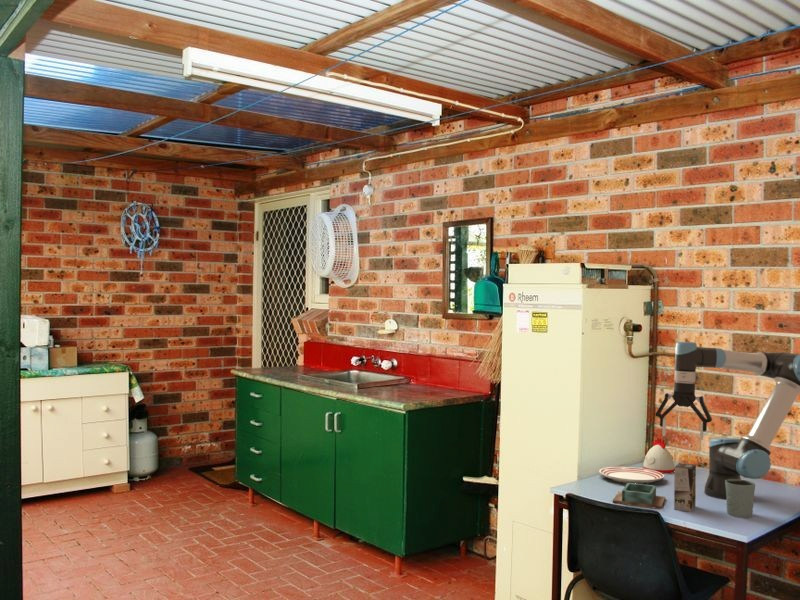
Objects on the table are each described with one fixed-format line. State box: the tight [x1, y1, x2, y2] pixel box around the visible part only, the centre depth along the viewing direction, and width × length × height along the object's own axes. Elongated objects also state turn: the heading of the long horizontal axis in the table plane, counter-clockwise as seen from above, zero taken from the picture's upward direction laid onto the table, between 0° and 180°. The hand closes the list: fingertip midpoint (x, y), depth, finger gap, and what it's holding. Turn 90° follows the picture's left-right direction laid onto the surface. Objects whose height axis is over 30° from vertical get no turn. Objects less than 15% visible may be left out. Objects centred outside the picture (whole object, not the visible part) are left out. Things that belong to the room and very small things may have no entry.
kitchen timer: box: [642, 437, 676, 474], centre depth 344 cm, size 14×14×15 cm
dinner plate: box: [598, 466, 665, 485], centre depth 327 cm, size 27×27×3 cm
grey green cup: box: [725, 479, 756, 519], centre depth 273 cm, size 10×10×12 cm
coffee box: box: [673, 462, 697, 512], centre depth 282 cm, size 9×6×16 cm
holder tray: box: [612, 483, 666, 509], centre depth 291 cm, size 18×15×5 cm
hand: (682, 437), depth 283 cm, fingers open, 13 cm apart
